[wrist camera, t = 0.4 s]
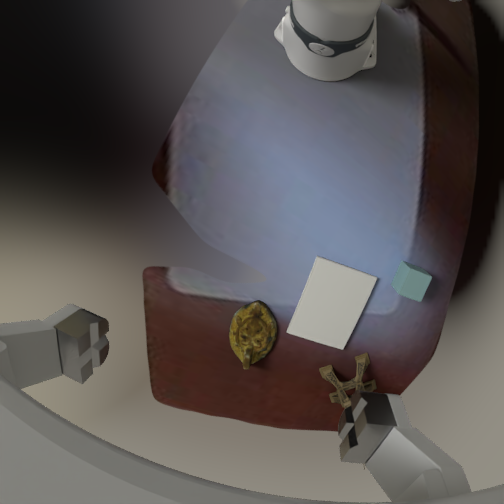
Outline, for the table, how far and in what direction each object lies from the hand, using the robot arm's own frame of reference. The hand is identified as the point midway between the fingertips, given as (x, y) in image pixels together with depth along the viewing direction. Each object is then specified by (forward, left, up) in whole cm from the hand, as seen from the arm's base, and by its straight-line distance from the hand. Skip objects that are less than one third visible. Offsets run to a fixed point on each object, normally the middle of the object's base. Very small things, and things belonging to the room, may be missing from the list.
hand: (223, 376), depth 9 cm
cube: (+4, +26, -46) cm, 53 cm away
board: (+14, +14, -46) cm, 50 cm away
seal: (+25, +2, -46) cm, 53 cm away
